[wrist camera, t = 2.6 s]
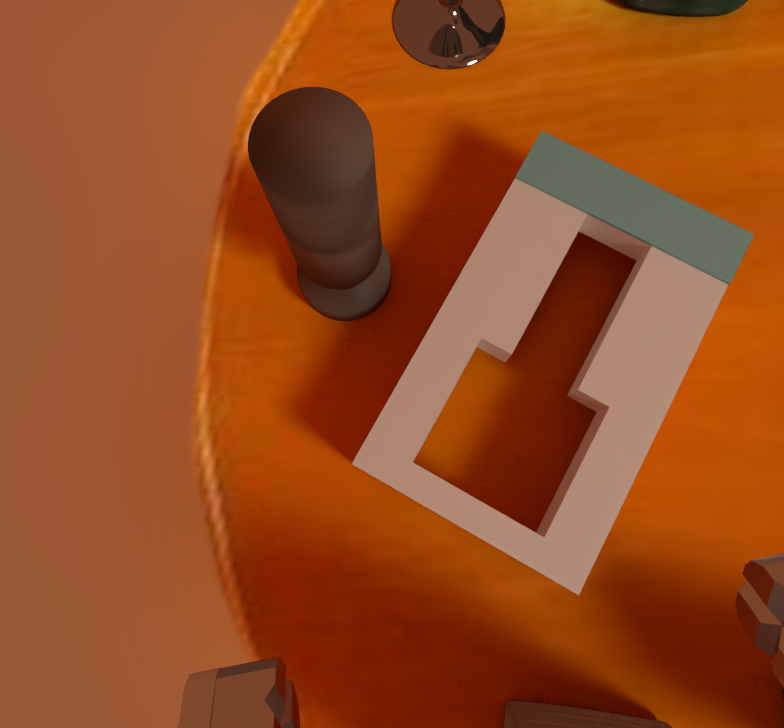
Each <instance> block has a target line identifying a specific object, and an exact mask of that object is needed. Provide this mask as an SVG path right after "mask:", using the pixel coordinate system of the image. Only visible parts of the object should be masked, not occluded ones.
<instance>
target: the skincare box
mask: <svg viewBox="0 0 784 728" xmlns="http://www.w3.org/2000/svg"><path fill="white" fill-rule="evenodd" d="M504 728H672V727H671V726H670V725H669V724H667V723H665V722H663V721H654V720H649V719H644V718H639V717H633V716H628V715H622V714H616V713H610V712H603V711H597V710H591V709H584V708H576V707H569V706H561V705H552V704H542V703H532V702H521V701H510V702H508V703H507V704H506V709H505V719H504Z"/></svg>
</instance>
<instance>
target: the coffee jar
mask: <svg viewBox="0 0 784 728" xmlns="http://www.w3.org/2000/svg"><path fill="white" fill-rule="evenodd" d="M618 1H619V2H621V3H622V4H623V5H625V6H627V7H630V8H633V9H637V10H641V11H646V12H652V13H658V14H665V15H675V16H688V17H703V16H720V15H725V14H728V13H730V12H733V11H735V10H737V9H738V8H740V7H741V6H742V5H744V4H745V3H746V2H747V1H748V0H618Z"/></svg>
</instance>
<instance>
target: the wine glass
mask: <svg viewBox="0 0 784 728" xmlns="http://www.w3.org/2000/svg"><path fill="white" fill-rule="evenodd" d="M393 28H394V32H395V35H396V38H397V39H398V41H399V43H400V45H401V46H402V47H403V49H404V50H405V51H406V52H407V53H408V54H409V55H410V56H412V57H413V58H414V59H416V60H418V61H419V62H421V63H423V64H426V65H428V66H431V67H436V68H440V69H458V68H463V67H467V66H471V65H473V64H475V63H478V62H480V61H481V60H483V59H484V58H486V57H487V56H488V55H489V54H490V53H492V52H493V51H494V49H495V48H496V47H497V45H498V44H499V42H500V40H501V38H502V36H503V33H504V29H505V12H504V8H503V6H502V3H501V1H500V0H398V1H397V3H396V5H395V8H394V12H393Z"/></svg>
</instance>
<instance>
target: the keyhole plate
mask: <svg viewBox="0 0 784 728" xmlns="http://www.w3.org/2000/svg"><path fill="white" fill-rule="evenodd" d="M578 231H579V232H581V233H583V234H585V235H587V236H589V237H591V238H593V239H595V240H597V241H599V242H601V243H603V244H604V245H606V246H608V247H610V248H612V249H614V250H616V251H618V252H620V253H622V254H624V255H626V256H628V257H630V258H632V259H634V260H636V263H635V265H634V267H633V269H632V271H631V273H630V275H629V276H628V278H627V280H626V282H625V284H624V286H623V288H622V290H621V292H620V294H619V296H618V298H617V300H616V302H615V304H614V306H613V308H612V309H611V311H610V313H609V315H608V317H607V319H606V321H605V323H604V325H603V327H602V329H601V331H600V333H599V335H598V337H597V339H596V340H595V342H594V344H593V346H592V348H591V350H590V352H589V354H588V356H587V358H586V360H585V362H584V364H583V366H582V368H581V370H580V372H579V373H578V375H577V377H576V379H575V381H574V383H573V385H572V387H571V389H570V391H569V393H568V395H567V396H568V397H570V398H572V399H573V400H575V401H577V402H579V403H581V404H583V405H585V406H586V407H588V408H590V409H592V410H594V411H596V414H595V416H594V418H593V420H592V422H591V424H590V426H589V428H588V430H587V432H586V434H585V436H584V438H583V440H582V442H581V444H580V446H579V448H578V450H577V452H576V454H575V456H574V458H573V460H572V462H571V464H570V466H569V468H568V470H567V472H566V474H565V476H564V478H563V480H562V482H561V484H560V486H559V488H558V490H557V492H556V494H555V496H554V498H553V500H552V502H551V504H550V506H549V508H548V510H547V512H546V514H545V516H544V518H543V520H542V521H541V523H540V525H539V527H538V529H537V531H536V532H534V531H532V530H530V529H529V528H527V527H525V526H523V525H522V524H520V523H518V522H516V521H515V520H513V519H511V518H509V517H508V516H506V515H504V514H502V513H501V512H499V511H497V510H495V509H494V508H492V507H490V506H488V505H486V504H485V503H483V502H481V501H479V500H478V499H476V498H474V497H472V496H471V495H469V494H467V493H465V492H464V491H462V490H460V489H458V488H457V487H455V486H453V485H451V484H450V483H448V482H446V481H444V480H443V479H441V478H439V477H437V476H436V475H434V474H432V473H430V472H429V471H427V470H425V469H423V468H422V467H420V466H418V465H416V464H415V463H413V461H414V459H415V457H416V456H417V454H418V452H419V450H420V448H421V447H422V445H423V443H424V441H425V439H426V438H427V436H428V434H429V432H430V430H431V429H432V427H433V425H434V423H435V421H436V419H437V418H438V416H439V414H440V412H441V410H442V409H443V407H444V405H445V403H446V401H447V400H448V398H449V396H450V394H451V392H452V391H453V389H454V387H455V385H456V383H457V381H458V380H459V378H460V376H461V374H462V372H463V371H464V369H465V367H466V365H467V363H468V362H469V360H470V358H471V356H472V354H473V353H474V351H475V349H476V347H477V348H479V349H481V350H483V351H484V352H486V353H488V354H490V355H492V356H494V357H496V358H497V359H499V360H501V361H503V362H506V361H507V360H508V359H509V357H510V356H511V355H512V353H513V352H514V350H515V348H516V346H517V344H518V342H519V340H520V339H521V337H522V335H523V333H524V331H525V329H526V327H527V326H528V324H529V322H530V320H531V318H532V316H533V315H534V313H535V311H536V309H537V307H538V305H539V303H540V302H541V300H542V298H543V296H544V294H545V292H546V290H547V289H548V287H549V285H550V283H551V281H552V279H553V277H554V276H555V274H556V272H557V270H558V268H559V266H560V265H561V263H562V261H563V259H564V257H565V255H566V253H567V252H568V250H569V248H570V246H571V244H572V242H573V240H574V239H575V237H576V235H577V233H578ZM753 235H754V234H753V233H751V232H749V231H747V230H744V229H742V228H740V227H738V226H736V225H734V224H732V223H730V222H728V221H726V220H724V219H722V218H720V217H718V216H716V215H714V214H712V213H710V212H708V211H706V210H703V209H701V208H699V207H697V206H695V205H693V204H691V203H689V202H687V201H685V200H683V199H681V198H679V197H677V196H675V195H673V194H671V193H669V192H667V191H664V190H662V189H660V188H658V187H656V186H654V185H652V184H650V183H648V182H646V181H644V180H642V179H640V178H638V177H636V176H634V175H632V174H630V173H628V172H626V171H623V170H621V169H619V168H617V167H615V166H613V165H611V164H609V163H607V162H605V161H603V160H601V159H599V158H597V157H595V156H593V155H591V154H589V153H587V152H585V151H582V150H580V149H578V148H576V147H574V146H572V145H570V144H568V143H566V142H564V141H562V140H560V139H558V138H556V137H554V136H552V135H550V134H548V133H546V132H544V131H541V133H540V135H539V136H538V138H537V140H536V142H535V143H534V145H533V147H532V149H531V150H530V152H529V154H528V156H527V157H526V159H525V161H524V163H523V164H522V166H521V168H520V170H519V171H518V173H517V175H516V177H515V179H514V181H513V182H512V184H511V186H510V188H509V189H508V191H507V193H506V195H505V196H504V198H503V200H502V202H501V203H500V205H499V207H498V209H497V210H496V212H495V214H494V216H493V217H492V219H491V221H490V223H489V224H488V226H487V228H486V230H485V231H484V233H483V235H482V237H481V238H480V240H479V242H478V244H477V245H476V247H475V249H474V251H473V252H472V254H471V256H470V258H469V259H468V261H467V263H466V265H465V266H464V268H463V270H462V272H461V273H460V275H459V277H458V279H457V280H456V282H455V284H454V286H453V287H452V289H451V291H450V293H449V294H448V296H447V298H446V300H445V301H444V303H443V305H442V307H441V308H440V310H439V312H438V314H437V315H436V317H435V319H434V321H433V322H432V324H431V326H430V328H429V329H428V331H427V333H426V335H425V336H424V338H423V340H422V342H421V343H420V345H419V347H418V349H417V350H416V352H415V354H414V356H413V357H412V359H411V361H410V363H409V364H408V366H407V368H406V370H405V371H404V373H403V375H402V377H401V378H400V380H399V382H398V384H397V385H396V387H395V389H394V391H393V392H392V394H391V396H390V398H389V399H388V401H387V403H386V405H385V406H384V408H383V410H382V412H381V413H380V415H379V417H378V419H377V420H376V422H375V424H374V426H373V427H372V429H371V431H370V433H369V434H368V436H367V438H366V440H365V441H364V443H363V445H362V447H361V448H360V450H359V452H358V454H357V455H356V457H355V459H354V461H353V462H352V464H353V465H354V466H356V467H358V468H359V469H361V470H363V471H365V472H366V473H368V474H370V475H372V476H373V477H375V478H377V479H378V480H380V481H382V482H384V483H385V484H387V485H389V486H391V487H392V488H394V489H396V490H398V491H399V492H401V493H403V494H404V495H406V496H408V497H410V498H411V499H413V500H415V501H417V502H418V503H420V504H422V505H423V506H425V507H427V508H429V509H430V510H432V511H434V512H436V513H437V514H439V515H441V516H442V517H444V518H446V519H448V520H449V521H451V522H453V523H455V524H456V525H458V526H460V527H461V528H463V529H465V530H467V531H468V532H470V533H472V534H474V535H475V536H477V537H479V538H481V539H482V540H484V541H486V542H487V543H489V544H491V545H493V546H494V547H496V548H498V549H500V550H501V551H503V552H505V553H506V554H508V555H510V556H512V557H513V558H515V559H517V560H519V561H520V562H522V563H524V564H525V565H527V566H529V567H531V568H532V569H534V570H536V571H538V572H539V573H541V574H543V575H545V576H546V577H548V578H550V579H551V580H553V581H555V582H557V583H558V584H560V585H562V586H564V587H565V588H567V589H569V590H570V591H572V592H574V593H576V594H577V595H579V594H580V592H581V590H582V588H583V586H584V584H585V581H586V579H587V577H588V575H589V573H590V571H591V569H592V567H593V565H594V563H595V561H596V559H597V557H598V554H599V552H600V550H601V548H602V546H603V544H604V542H605V540H606V538H607V536H608V534H609V532H610V530H611V527H612V525H613V523H614V521H615V519H616V517H617V515H618V513H619V511H620V509H621V507H622V505H623V503H624V500H625V498H626V496H627V494H628V492H629V490H630V488H631V486H632V484H633V482H634V480H635V478H636V476H637V473H638V471H639V469H640V467H641V465H642V463H643V461H644V459H645V457H646V455H647V453H648V451H649V448H650V446H651V444H652V442H653V440H654V438H655V436H656V434H657V432H658V430H659V428H660V426H661V424H662V421H663V419H664V417H665V415H666V413H667V411H668V409H669V407H670V405H671V403H672V401H673V399H674V397H675V394H676V392H677V390H678V388H679V386H680V384H681V382H682V380H683V378H684V376H685V374H686V372H687V370H688V367H689V365H690V363H691V361H692V359H693V357H694V355H695V353H696V351H697V349H698V347H699V345H700V343H701V340H702V338H703V336H704V334H705V332H706V330H707V328H708V326H709V324H710V322H711V320H712V318H713V315H714V313H715V311H716V309H717V307H718V305H719V303H720V301H721V299H722V297H723V295H724V293H725V291H726V288H727V286H728V285H729V284H730V283H731V281H732V279H733V277H734V275H735V273H736V271H737V269H738V267H739V265H740V262H741V260H742V258H743V256H744V254H745V252H746V250H747V248H748V246H749V244H750V242H751V240H752V237H753Z"/></svg>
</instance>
